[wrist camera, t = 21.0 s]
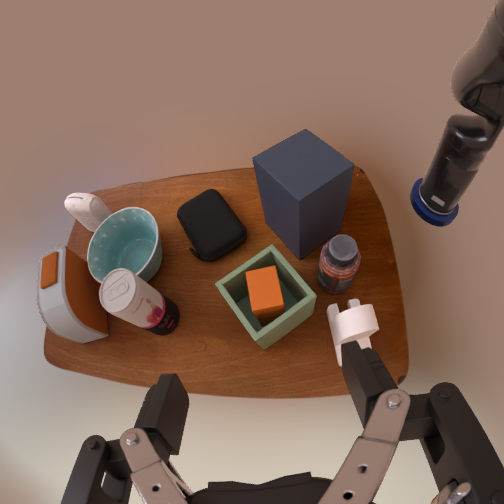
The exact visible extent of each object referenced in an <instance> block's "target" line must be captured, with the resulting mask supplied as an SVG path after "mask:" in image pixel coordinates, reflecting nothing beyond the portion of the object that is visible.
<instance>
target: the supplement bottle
mask: <svg viewBox="0 0 504 504" xmlns="http://www.w3.org/2000/svg"><path fill="white" fill-rule="evenodd" d="M360 260H361V256H360V252H359V249H358V247H357V243H356V241H355V240H354V239H353V238H352V237H350V236H348V235H343V234H341V235H337V236H335V237H333V238H332V239H331V240H330V241H329V242H327V243H326V244H325V245H324V247H323V248H322V251H321V254H320V261H319V268H318V277H317V278H318V283H319V285H320V287H321V288H322V289H323V290H324V291H326V292H328V293H330V294H340V293H343V292H344V291H346V290H347V289H348V288H349V286H350V285H351V283H352V281H353V278H354V276H355V274H356V272H357V269H358V267H359V264H360Z"/></svg>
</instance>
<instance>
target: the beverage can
mask: <svg viewBox="0 0 504 504" xmlns="http://www.w3.org/2000/svg"><path fill="white" fill-rule="evenodd" d="M99 298H100V302H101V304H102V306H103V307H104V308H105V309H106V311H108V312H109V313H110V314H112V315H115V316H117V317H119V318H121V319H123V320H125V321H127V322H130V323H132V324H134V325H136V326H138V327H141V328H143V329H145V330H148V331H150V332H152V333H155V334H157V335H166V334H169V333H171V332H172V331H173V330H174V329H175V328H176V326H177V324H178V322H179V310H178V308H177V306H176V305H175V304H174V303H173V302H172V301H170V300H169V299H168V298H166V297H165V296H164V295H162V294H161V293H160V292H158V291H157V290H156V289H154V288H153V287H152V286H150V285H149V284H148V283H146V282H145V281H144V280H142V279H141V278H140V277H139V276H137V275H136V274H135V273H133V272H132V271H130V270H127V269H124V268H119V269H115V270H113V271H111V272H110V273H109V274H108V275H107V276H106V277H105V278H104V280H103V281H102V284H101V286H100V291H99Z"/></svg>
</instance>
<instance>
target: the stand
mask: <svg viewBox="0 0 504 504" xmlns="http://www.w3.org/2000/svg"><path fill="white" fill-rule="evenodd" d="M252 159H253V164H254V169H255V173H256V178H257V183H258V187H259V192H260V197H261V202H262V206H263V211H264V216H265V221H266V223H267V225H268V226H269V227H270V228H271V229H272V230H273V231H274V232H275V233H276V235H277V236H278V237H279V238H280V239H281V240H282V241H283V242H284V243H285V245H286V246H287V247H288V248H289V249H290V250H291V251H292V252H293V254H294V255H295V256H296V257H297V258H298V259H299V260H301V259H302V258H303V257H305V256H306V255H308V254H309V253H310V252H312V251H313V250H314V249H316V248H317V247H318V246H320V245H321V244H322V243H324V242H325V241H326V240H328V239H329V238H330V237H332V236H333V235H334V234H335V233H337V232H338V231H339V230H341V227H342V223H343V219H344V214H345V210H346V205H347V200H348V195H349V190H350V185H351V180H352V175H353V170H354V164H353V163H352V162H351V161H349V160H348V159H347V158H345V157H344V156H343V155H342V154H340V153H339V152H338V151H336V150H335V149H333V148H332V147H331V146H329V145H328V144H327V143H325V142H324V141H322V140H321V139H320V138H318V137H317V136H316V135H314V134H313V133H311V132H310V131H308V130H307V129H304V130H302V131H300V132H298V133H297V134H295V135H293V136H291V137H289V138H287V139H285V140H283V141H282V142H280V143H278V144H276V145H274V146H272V147H271V148H269V149H267V150H265V151H264V152H262V153H260V154H258V155H257V156H255V157H253V158H252Z"/></svg>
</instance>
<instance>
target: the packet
mask: <svg viewBox="0 0 504 504" xmlns="http://www.w3.org/2000/svg"><path fill="white" fill-rule="evenodd" d="M245 273H246V279H247V285H248V290H249V296H250V302H251V307H252V311H253V313H254V315H255V316H256V318H257V320H258V321H259V323H260V324H261V326H262V327H263V326H267V325H268V324H270V323H271V322H273V321H274V320H275V319H277V318H278V317H279V316H281V315H282V314H284V313H285V307H284V302H283V297H282V293H281V288H280V284H279V279H278V275H277V270H276V266H270V267H266V268H261V269H257V270H252V271H247V272H245Z"/></svg>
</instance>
